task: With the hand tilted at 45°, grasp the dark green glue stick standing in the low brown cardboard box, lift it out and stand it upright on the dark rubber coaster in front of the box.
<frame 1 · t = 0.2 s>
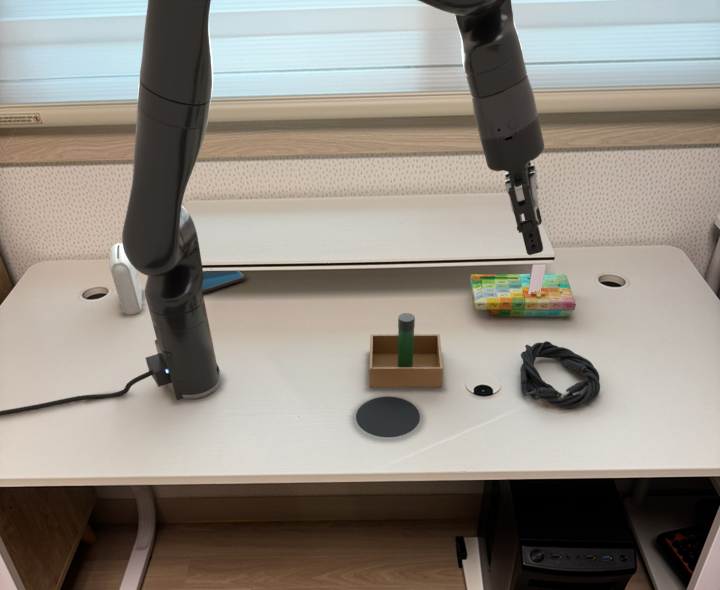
hand: (535, 238, 98), 31 cm above the table, tool tilted 20°, fingers open, 8 cm apart
smartphone: (208, 283, 154), on the table
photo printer: (133, 303, 149), on the table
box: (404, 371, 129), on the table
puzzle game: (518, 306, 145), on the table
glue stick: (405, 369, 129), resting on box
cable: (556, 380, 126), on the table
coaster: (387, 418, 119), on the table
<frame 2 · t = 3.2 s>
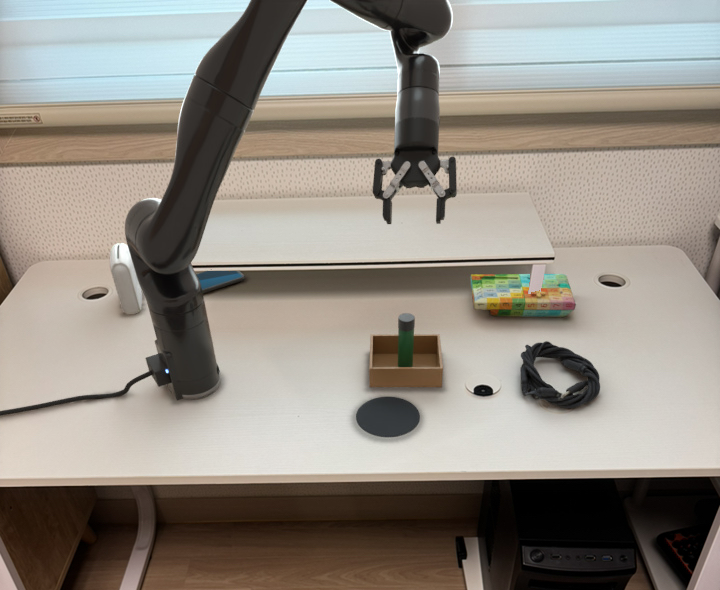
hand: (413, 222, 119), 24 cm above the table, tool tilted 40°, fingers open, 8 cm apart
nothing on the table moved.
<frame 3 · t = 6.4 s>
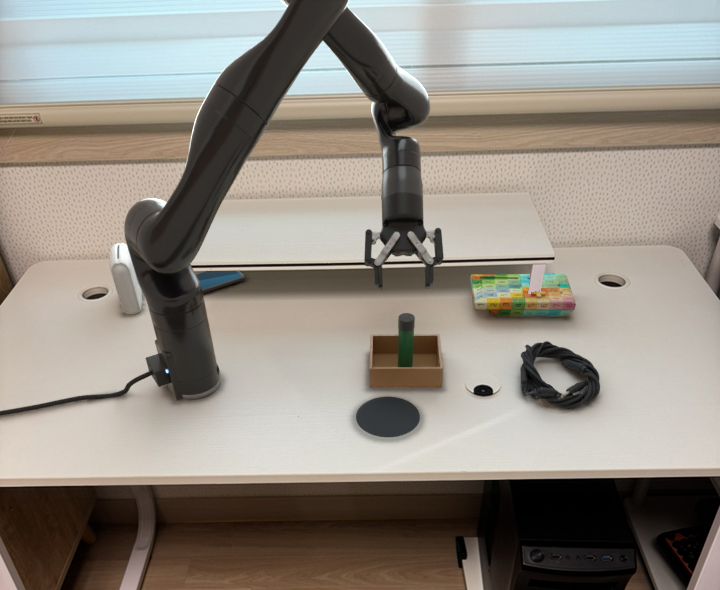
hand: (404, 288, 125), 13 cm above the table, tool tilted 45°, fingers open, 8 cm apart
nothing on the table moved.
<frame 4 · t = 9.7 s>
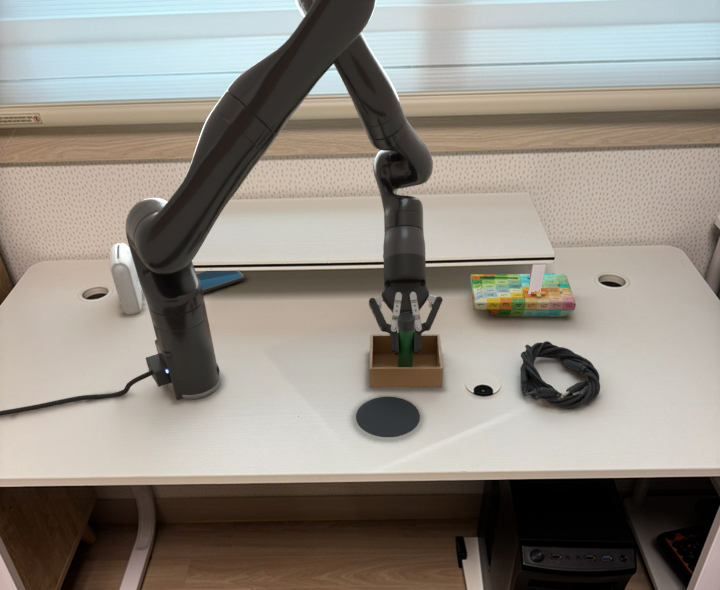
hand: (406, 353, 124), 5 cm above the table, tool tilted 45°, fingers closed on glue stick, 3 cm apart
glue stick: (405, 369, 129), point 1 cm above the table, touching box, gripper
everything else where it was.
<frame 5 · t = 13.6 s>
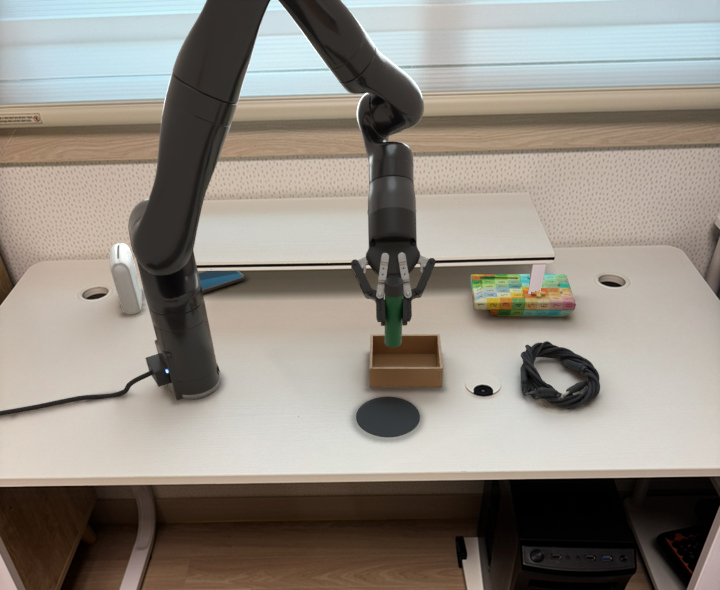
hand: (394, 324, 108), 18 cm above the table, tool tilted 45°, fingers closed on glue stick, 3 cm apart
glue stick: (393, 342, 113), point 13 cm above the table, touching gripper
everything else where it was.
when the fingers open (5 cm above the table, at t = 17.7 s): glue stick stays where it is, resting on coaster.
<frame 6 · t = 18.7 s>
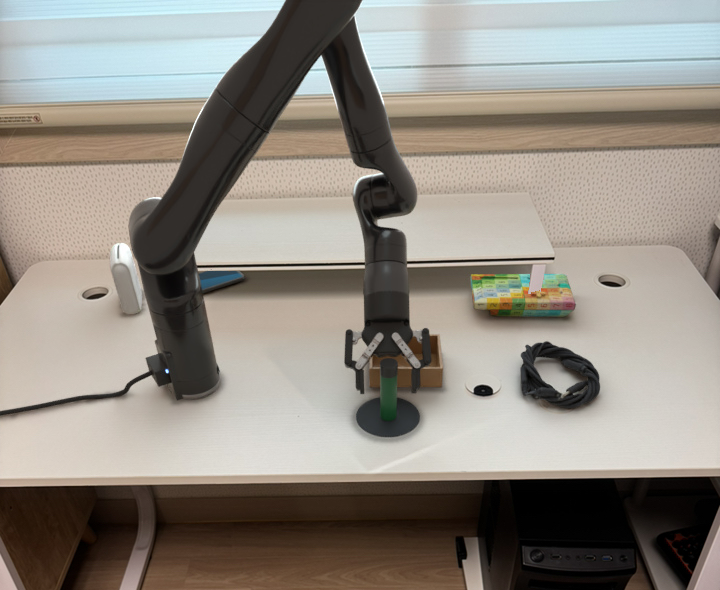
hand: (388, 393, 114), 6 cm above the table, tool tilted 45°, fingers open, 8 cm apart
glue stick: (388, 416, 119), resting on coaster
everything else where it was.
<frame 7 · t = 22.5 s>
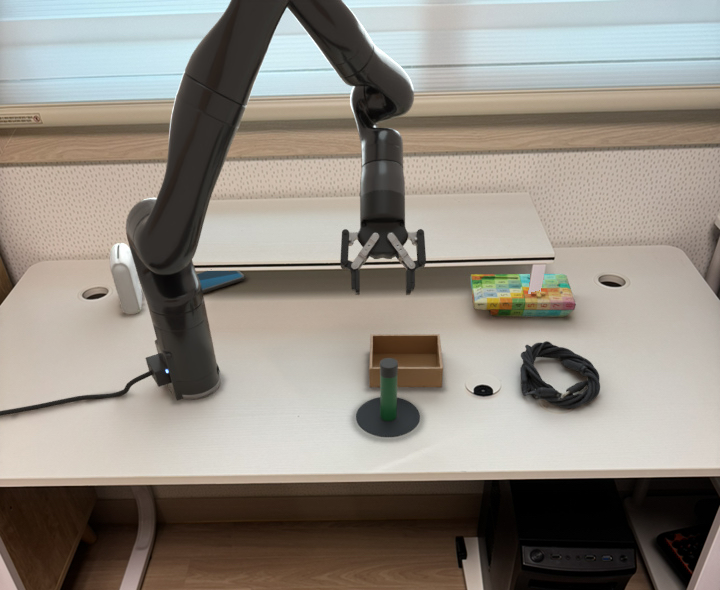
hand: (383, 293, 116), 17 cm above the table, tool tilted 45°, fingers open, 8 cm apart
nothing on the table moved.
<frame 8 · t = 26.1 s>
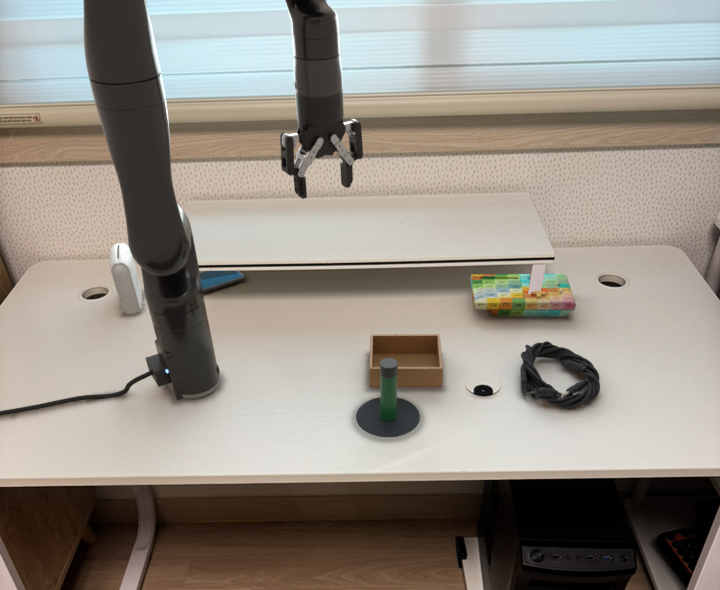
hand: (324, 191, 119), 28 cm above the table, tool pointing down, fingers open, 8 cm apart
nothing on the table moved.
at the end: glue stick 0.1 cm off-centre on the coaster, point 0.5 cm above the coaster's base; glue stick tilted 0°; the gripper is holding nothing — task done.
